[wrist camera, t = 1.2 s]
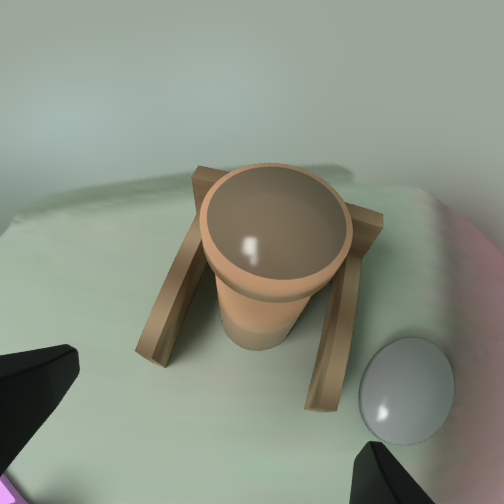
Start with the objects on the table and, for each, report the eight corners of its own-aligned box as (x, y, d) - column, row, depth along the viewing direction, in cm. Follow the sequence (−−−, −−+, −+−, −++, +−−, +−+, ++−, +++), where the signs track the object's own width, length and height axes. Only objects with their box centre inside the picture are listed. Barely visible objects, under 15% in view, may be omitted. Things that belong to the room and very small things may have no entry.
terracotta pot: (302, 352, 21) (369, 281, 11) (216, 357, 21) (197, 290, 10) (292, 277, 25) (333, 164, 14) (214, 280, 24) (202, 163, 13)
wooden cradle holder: (319, 412, 19) (362, 408, 12) (151, 362, 20) (111, 333, 13) (346, 270, 25) (382, 214, 18) (205, 231, 27) (198, 165, 20)
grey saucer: (451, 425, 18) (459, 424, 17) (364, 457, 17) (370, 458, 16) (436, 333, 22) (443, 329, 21) (351, 349, 22) (356, 346, 21)
